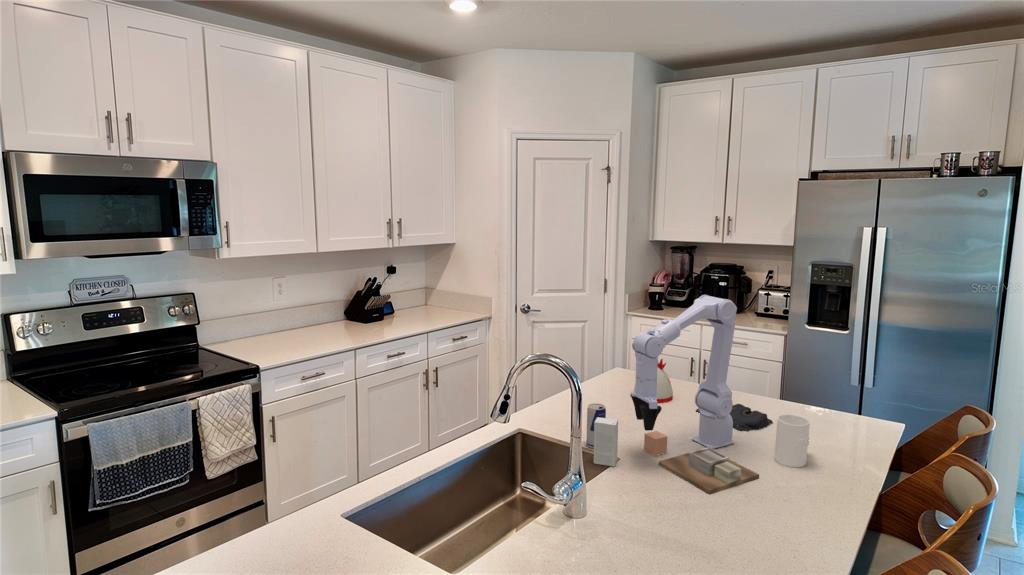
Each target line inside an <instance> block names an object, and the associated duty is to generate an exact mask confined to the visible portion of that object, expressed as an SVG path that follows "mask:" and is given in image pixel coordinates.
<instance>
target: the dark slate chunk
mask: <svg viewBox="0 0 1024 575" xmlns="http://www.w3.org/2000/svg"><path fill="white" fill-rule="evenodd" d="M695 412H696V413H697V412H698V413H697V414H699V413H700V411H698V408H697V409H696V410H695ZM730 415H731V417H732V420H733V430H737V431H739V432H747V433H748V432H751V431H754V430H761V429H764V427H765V428H768V426H771V424H773V423H774V422H773V420H772V419H769V418H768V414H767V413H764V412H761V411H759V410H753V411H752V408H750V407H748V406H745V405H743V404H741V403H736V404H733V407H732V410H731V412H730Z"/></svg>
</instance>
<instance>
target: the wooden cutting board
mask: <svg viewBox="0 0 1024 575" xmlns="http://www.w3.org/2000/svg"><path fill="white" fill-rule="evenodd" d="M729 458H730V457H729V456H727V455H725V454H723V453H721V452H718V451H717V450H715V449H711V448H709V447H704V448H701V449H696V450H693V451H690V452H687V453H684V454H679V455H677V456H676V455H675V456H674V457H670V458H666V459H662V460H659V461H658V465H659V466H660V465H661V466H660V467H662V468H663V467H664V468H663V469H665V468H666V469H665V470H667V471H668V472H670V471H671V472H670V473H672V474H674V475H675V474H676V476H677V475H678V476H677V477H679V478H680V479H682V478H683V479H682V480H684V481H686V482H687V481H688V482H687V483H689V482H690V483H689V484H691V485H692V484H693V485H692V486H694V485H695V486H694V487H696V488H698V489H699V488H700V489H699V490H701V491H703V492H704V491H705V492H704V493H706V494H708V495H711V494H714V493H718V492H721V491H723V490H727V489H729V488H732V487H736V486H739V485H742V484H745V483H748V482H751V481H754V480H758V479H760V474H759V473H758V472H756V471H753V470H751V469H749V468H747V467H745V466H744V465H741V464H740V463H737V462H735V461H733V460H732V459H729ZM720 490H721V491H720Z"/></svg>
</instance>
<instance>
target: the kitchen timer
mask: <svg viewBox="0 0 1024 575" xmlns="http://www.w3.org/2000/svg"><path fill="white" fill-rule="evenodd" d="M666 364H667V362H664V363H663V358H661V359H660V361H659V362H658V366H657V402H658V403H657V404H664V403H669V402H671V401H672V400H673V396H674V394H673V393H674V391H673V387H672V383H671V380H670V377H669V376H668V373H667V372H666V371H665V370H664V368H665V367H666ZM633 388H634V389H633V392H634V391H635V387H633Z"/></svg>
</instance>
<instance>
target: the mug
mask: <svg viewBox="0 0 1024 575" xmlns="http://www.w3.org/2000/svg"><path fill="white" fill-rule="evenodd" d="M775 432H776V434H775V444H774V445H775V447H774V460H775V461H776V462H777V463H779V464H780V465H782V466H786V467H789V468H804V467H805V466H806V465H807V457H808V448H809V447H808V446H809V445H810V441H809V440H810V421H809V420H808V419H807V418H805V417H802V416H799V415H796V414H795V415H794V414H780V415H779V416H777V421H776V431H775Z"/></svg>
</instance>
